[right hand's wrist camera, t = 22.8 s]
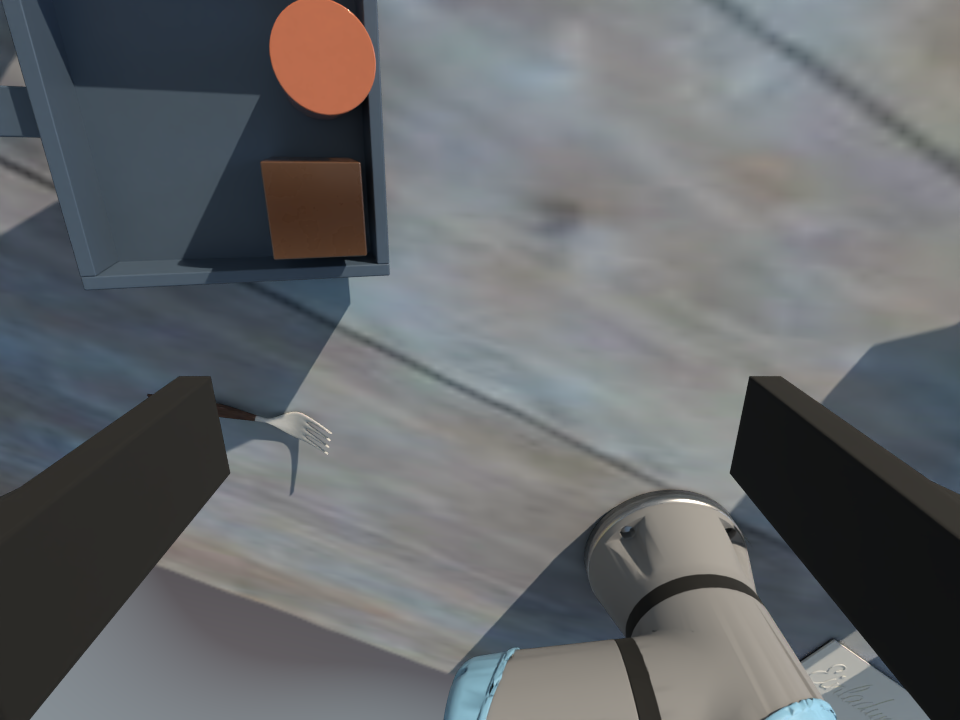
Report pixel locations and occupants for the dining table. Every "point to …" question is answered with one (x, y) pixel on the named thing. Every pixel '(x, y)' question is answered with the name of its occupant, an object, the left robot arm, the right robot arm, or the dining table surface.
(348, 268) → the tray
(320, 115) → the terracotta cylinder
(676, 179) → the dining table surface
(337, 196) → the walnut block
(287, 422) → the fork
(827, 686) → the invitation card
